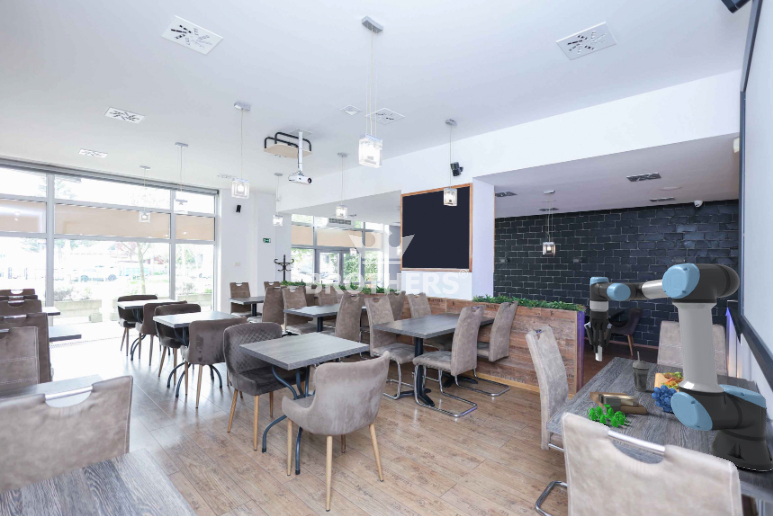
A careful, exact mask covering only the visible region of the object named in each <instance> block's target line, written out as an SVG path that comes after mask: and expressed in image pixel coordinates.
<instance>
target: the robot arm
mask: <svg viewBox="0 0 773 516" xmlns="http://www.w3.org/2000/svg"><path fill="white" fill-rule="evenodd" d="M740 281H741V280H740V276H739V275H738V273H737V272H736V270H734V269H733V268H731V267H729V266H728V265H725V264H720V263H694V262H693V263H692V262H691V263H688V262H687V263H680V264H674V265H672V266H670V267H669V268H667V270H666V271H665V272H664V274H663V276H662V279H656V280H648V281H642V282H609V277H605V276H603V277H602V276H591V278H590V280H589V309H590V310H589V320H588V323H584V324H583V327H584V328H585V330H586V334H587V338H588V342H589V345H591V346H593V353H594V354H595V360H596V361H598V362H602V361H603V354H604V353H605V347H607V346H609V344H610V340H611V335H612V333H613V330H614V329H615V325H613V324H611V323H610V321H609V300H612V301H615V302H617V301H618V302H621V301H622V302H623V301H628V300H629V301H630V300H634V301H635V300H636V301H637V300H643V301H648V300H649V301H650V300H654V299H664V298H670V299H671V304H672V305H673V306H675V307H676V308H677V311H678V312H677V313H678V322H679V323H678V324H679V325H678V326H679V336H680V349H681V350H680V351H681V362H682V363H681V364H682V374H683V375H682V376H683V377H684V379H683V381H681V382H680V383H679V384H678V386H679V392H677V393H675V394H673V396H672V397H671V407H672V410H673V412H674V415H675V418H677V419H678V420H679V422H680V423H681V424H682V425H683V426H684V427H686V428H688V429H691V430H693V431H703V432H709V431H716V432H715V433H714V436H713V439H712V441H711V443H710V453H711V454H712V455H713V457H715V456H717V457H720V458H723V459H726V460H729V461H731V462H733V463H734V464H735V465H736V466H735V467H737V465H738V466H740V467H745V468H750V469H756V470H770V469H772V468H773V456H772V454H771V451H770V448H769V445H768V443H767V410H768V407H767V400H766V398H765V396H763V394H761V393H759V392H756V391H753V390H751V389H748V388H743V387H739V386H735V385H730V384H719V383H718V371H717V363H716V361H717V360H716V352H715V351H716V350H715V340H714V338H715V337H714V329H713V328H714V327H713V325H714V324H713V318H712V317H713V316H712V309H713V308H714V307H715V306H716V305H717V304H718V302H717V299H719V298H720V299H721V298H726V297H729V296H731V295H733V294H734V293H735V292H736V291H737V290H738V289H739V287H740V283H741V282H740ZM591 328H592V329H591ZM592 331H593V333H592ZM673 412H672V413H673ZM717 457H716V458H717ZM740 467H739V468H740Z"/></svg>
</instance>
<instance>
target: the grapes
mask: <svg viewBox="0 0 773 516" xmlns="http://www.w3.org/2000/svg"><path fill="white" fill-rule="evenodd" d="M660 388H661V389H660ZM660 388H659V387H654V388H653V391H654V392H653V393H651V398H652V399H653V400H655V401H654V404H655V406H656V407H657V408H660V409H661V408H662V410H663V412H665V413H671V412H672V413H674V412H673V410H672V407H671V397H672V396H673V394H675V393H677V391H676V390H675V389H674V388H670V389H669V388H668V387H667V386H665V385H661V387H660Z"/></svg>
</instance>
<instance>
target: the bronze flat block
mask: <svg viewBox="0 0 773 516" xmlns="http://www.w3.org/2000/svg"><path fill="white" fill-rule="evenodd" d="M598 394H603V395H617V396H629V394H627V393H626V392H612V391H611V392H610V391H609V392H606V391H589V398H590V400H592V401H593V402H594V403H595V404H597V406H600V407H601V408H602V410H603V413H605V414H606V407H604V404H608V405H610V407H607V414H608V409H610V408H612V409H613V412H614V415H615V413H616V412H622V413H621V414H623V413H624V414H637V415H638V414H640V415H641V414H642V415H647V407H645V406H644V405H642V404H641V403H640V402H639V406H631V405H621V398H619V397H616V396H604V404H602V403H600V402H599V401H598Z"/></svg>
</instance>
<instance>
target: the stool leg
mask: <svg viewBox="0 0 773 516" xmlns="http://www.w3.org/2000/svg"><path fill="white" fill-rule="evenodd" d="M604 396H616V397H619V398H621V405H631V406H639V403H640V398H639V397H638V396H636V395H628V396H617V395H603V394H598V401H599V402H600V403H602V404H604Z"/></svg>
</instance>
